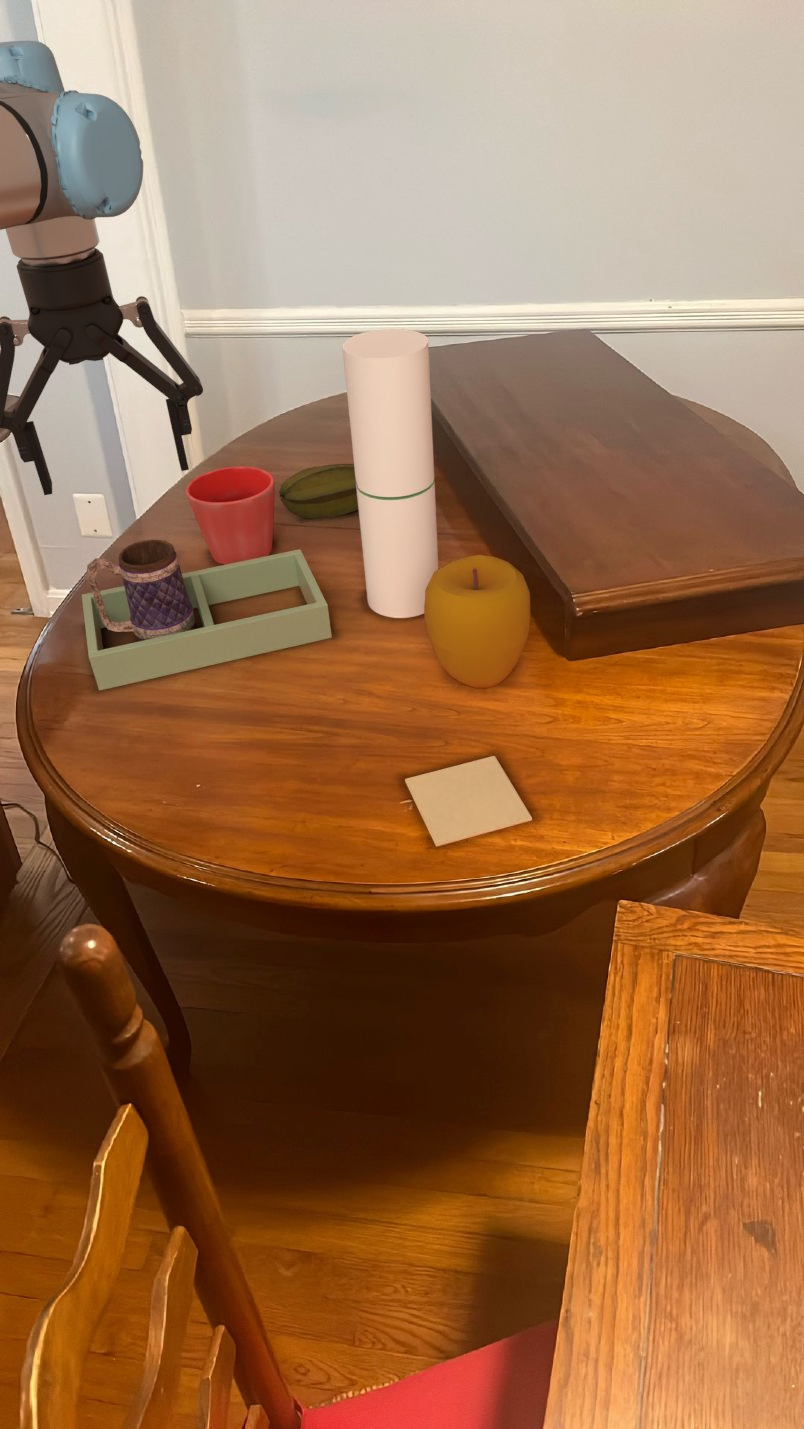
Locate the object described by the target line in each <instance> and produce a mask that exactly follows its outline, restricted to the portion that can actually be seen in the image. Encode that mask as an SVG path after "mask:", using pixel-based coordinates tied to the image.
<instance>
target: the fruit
mask: <svg viewBox="0 0 804 1429" xmlns="http://www.w3.org/2000/svg"><path fill="white" fill-rule="evenodd" d="M278 493H279V498H280V501H281V502H282V504H283V505H284V507H285V508H286V509H287V510H288V511H289V512H290V513H292V514H294V515H296V516H298V517H301V518H304V519H313V520H315V519H317V520H318V519H324V518H325V519H326V518H335V517H342V516H344V515H347V514H350V513H353V512H357V511H359V509H358V499H357V489H356V479H355V468H354V463H334V464H327V465H321V466H312V467H308V468H305V469H302V470H300V471H298V472H296V473H294V474H293V475H291V476H290V477H288V478H287V479H286V480H285V481H283V482H282V483H281V485H280V488H279V491H278Z"/></svg>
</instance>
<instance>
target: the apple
mask: <svg viewBox="0 0 804 1429" xmlns="http://www.w3.org/2000/svg"><path fill="white" fill-rule="evenodd" d="M423 615H424V616H423V617H424V624H425V627H426V631H427V635H428V638H429V641H430V644H431V647H432V650H433V653H434V654H435V656H436V658H437V660H438V662H439V663H440V665H441V667H442V668H443V669H444V671H445V672H446V673H447V674H448V675H449V677H451V678H453V679H455V680H456V681H457V682H459V683H461V684H463V685H465V686H468V687H471V688H472V689H489V688H492V687H494V686H497V685H500V684H502V682H503V681H505V680H506V679H507V678H508V677H509V676H510V675H511V673H512V671H513V670H514V669H515V667H516V666H517V664H518V663H519V660H520V658H521V656H522V654H523V652H524V650H525V647H526V644H527V641H528V637H529V634H530V626H531V625H530V624H531V593H530V589H529V587H528V585H527V582H526V580H525V576H524V575H523V573H522V572H520V571H519V570H518V569H517V568H516V567H515V566H513V564H511V563H510V562H509V561H508V560H507V561H506V560H504V559H502V558H499V557H496V556H489V555H484V554H483V555H482V554H475V555H470V556H469V555H468V556H466V557H462V558H459V559H456V560H453V561H451V562H449V563H447V564H446V565H444V566H442V567H440V568H438V570H437V571H435V572H434V573H433V575H432V577H431V579H430V581H429V583H428V585H427V587H426V590H425V603H424V613H423Z"/></svg>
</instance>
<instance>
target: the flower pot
mask: <svg viewBox="0 0 804 1429" xmlns="http://www.w3.org/2000/svg"><path fill="white" fill-rule="evenodd" d="M275 483H276V482H275V478H274V476H273V475H272V474H271V473H270V471H269V472H268V471H267V470H265V469H262V468H259V467H253V466H229V467H227V466H226V467H222V468H218V469H214V470H211V471H208V472H205V473H202V474H201V475H199V476H197V477H195V478H194V479H192V480H191V481H190V482H189V483H188V485H187V486H186V489H185V494H186V496H187V499H188V502H189V504H190V507H191V509H192V512H193V514H194V516H195V519H196V521H197V524H198V526H199V529H200V532H201V534H202V536H203V538H204V541H205V543H206V545H207V548H208V549H209V552H210V554H211V557H212V559H213V560H214V561H215V562H216V563H218V564H220V565H227V564H231V563H236V562H241V561H246V560H251V559H255V558H260V557H265V556H270V555H271V552H272V550H273V539H274V526H275V523H274V522H275V498H276V497H275V494H276V492H275V491H276V490H275V488H276V487H275Z"/></svg>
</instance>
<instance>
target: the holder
mask: <svg viewBox="0 0 804 1429" xmlns="http://www.w3.org/2000/svg"><path fill="white" fill-rule="evenodd" d="M182 577H183V580H184V584H185V587H186V591H187V595H188V598H189V602H190V603H191V605H192V607H193V609H197V610H198V611H197V612H198V614H199V618H200V621H201V624H202V627H199V628H197V629H194V630H189V631H185V632H180V633H176V634H171V635H167V636H162V637H158V638H153V639H149V640H144V641H139V642H137V641H135V642H131V643H127V644H122V645H116V646H112V647H108V648H104V645H103V637H102V629H105V628H107V627H106V626H105V624H104V623H103V622H102V620H101V617H100V614H99V611H98V607H97V604H96V601H95V598H94V594H93V592H92V591H91V592H88V593H84V594H81V601H82V610H83V618H84V627H85V636H86V637H85V638H86V645H87V654H88V660H89V663H90V666H91V669H92V672H93V676H94V679H95V681H96V685H97V688H98V691H104V690H108V689H112V688H113V689H114V688H117V687H121V686H125V685H130V684H134V683H139V682H143V681H148V680H152V679H157V678H160V677H166V676H169V675H174V674H178V673H183V672H186V671H192V670H197V669H200V668H204V667H208V666H214V665H217V664H222V663H226V662H230V661H235V660H240V659H243V658H249V657H252V656H257V655H261V654H262V655H263V654H266V653H271V652H275V651H279V650H284V649H287V648H292V647H296V646H301V645H305V644H310V643H313V642H318V641H323V640H327V639H332V637H333V636H332V635H333V634H332V628H331V620H330V612H329V611H330V610H329V604H328V603H327V600H326V599H325V597H324V595H323V593H322V590H321V589H320V586H319V585H318V582H317V580H316V578H315V576H314V574H313V572H312V569H311V568H310V566H309V564H308V562H307V559H306V558H305V556H304V553H303V552H302V549H300V548H299V549H294V550H290V551H285V552H280V553H279V552H278V553H275V554H269V555H268V556H265V557H260V558H255V559H251V560H246V561H241V562H236V563H231V564H227V565H223V564H221V565H217V566H213V567H208V568H203V569H199V570H193V571H188V572H184V573H182ZM294 587H299V589H300V591H301V593H302V595H303V598H304V600H305V602H306V604H304V605H299V606H295V607H289V608H286V609H281V610H276V611H271V612H267V613H262V614H257V615H253V616H249V617H244V618H240V619H236V620H231V621H226V622H222V623H218V624H215V622H214V619H213V616H212V613H211V609H210V607H209V606H211V605H216V604H221V603H225V602H230V601H234V600H238V599H239V600H240V599H244V598H248V597H252V596H258V595H261V594H266V593H271V592H276V591H281V590H286V589H290V588H294ZM99 591H100V594H101V597H102V600H103V603H104V607H105V610H106V613H107V615H108V617H109V619H110V620H111V621H113V622H117V623H118V622H127V621H130V615H131V614H130V610H129V605H128V601H127V596H126V592H125V587H124V585H122V586H117V587H112V588H108V589H102V590H99Z"/></svg>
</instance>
